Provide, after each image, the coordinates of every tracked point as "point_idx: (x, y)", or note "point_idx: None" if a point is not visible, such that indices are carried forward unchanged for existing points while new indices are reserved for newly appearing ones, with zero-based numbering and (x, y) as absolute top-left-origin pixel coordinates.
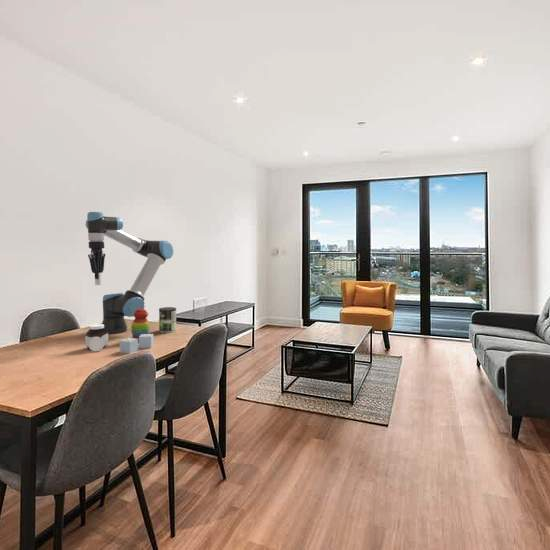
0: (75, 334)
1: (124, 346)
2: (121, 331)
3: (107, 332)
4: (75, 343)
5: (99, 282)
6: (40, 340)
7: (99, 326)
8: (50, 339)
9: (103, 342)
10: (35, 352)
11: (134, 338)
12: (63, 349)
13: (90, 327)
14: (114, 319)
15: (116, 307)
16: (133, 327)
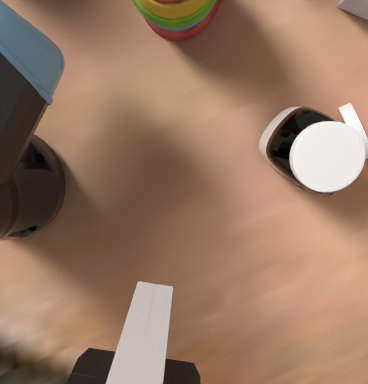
0: (79, 306)
1: None
2: (37, 138)
3: (305, 107)
4: (220, 251)
5: (169, 310)
6: None
7: (358, 133)
8: None
9: (347, 107)
10: (330, 324)
11: (207, 16)
12: (303, 256)
13: (354, 176)
14: (15, 176)
15: (15, 158)
16: (211, 1)
